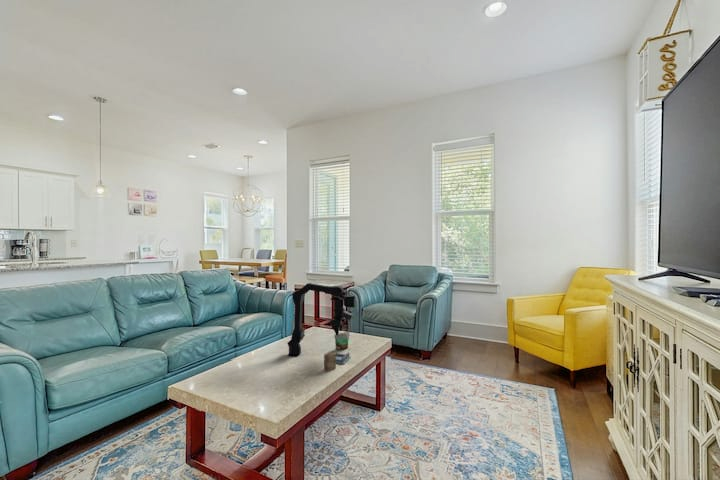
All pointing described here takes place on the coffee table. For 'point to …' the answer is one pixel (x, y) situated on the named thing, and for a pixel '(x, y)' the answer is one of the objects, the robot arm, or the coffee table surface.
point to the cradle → (342, 358)
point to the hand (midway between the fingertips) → (339, 333)
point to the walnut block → (329, 361)
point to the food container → (342, 340)
